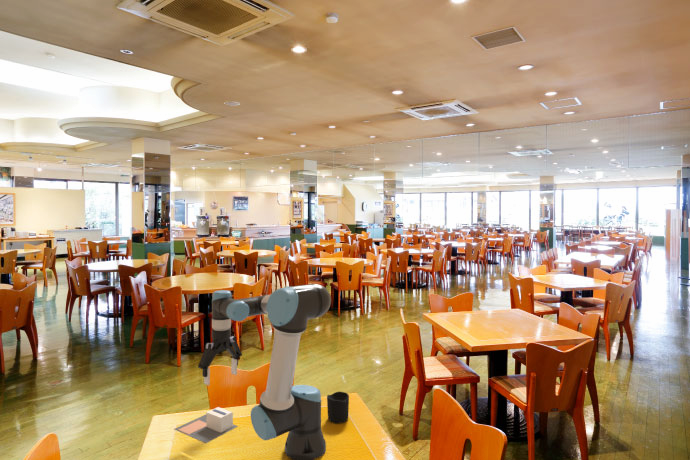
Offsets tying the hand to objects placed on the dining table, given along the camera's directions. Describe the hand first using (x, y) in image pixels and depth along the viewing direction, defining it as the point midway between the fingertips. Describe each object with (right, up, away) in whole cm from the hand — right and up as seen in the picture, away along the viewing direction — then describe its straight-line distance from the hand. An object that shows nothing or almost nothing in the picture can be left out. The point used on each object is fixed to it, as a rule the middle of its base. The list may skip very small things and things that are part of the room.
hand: (220, 379), depth 174 cm
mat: (-5, -20, -2) cm, 21 cm away
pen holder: (+48, -20, +6) cm, 53 cm away
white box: (0, -19, -1) cm, 19 cm away
